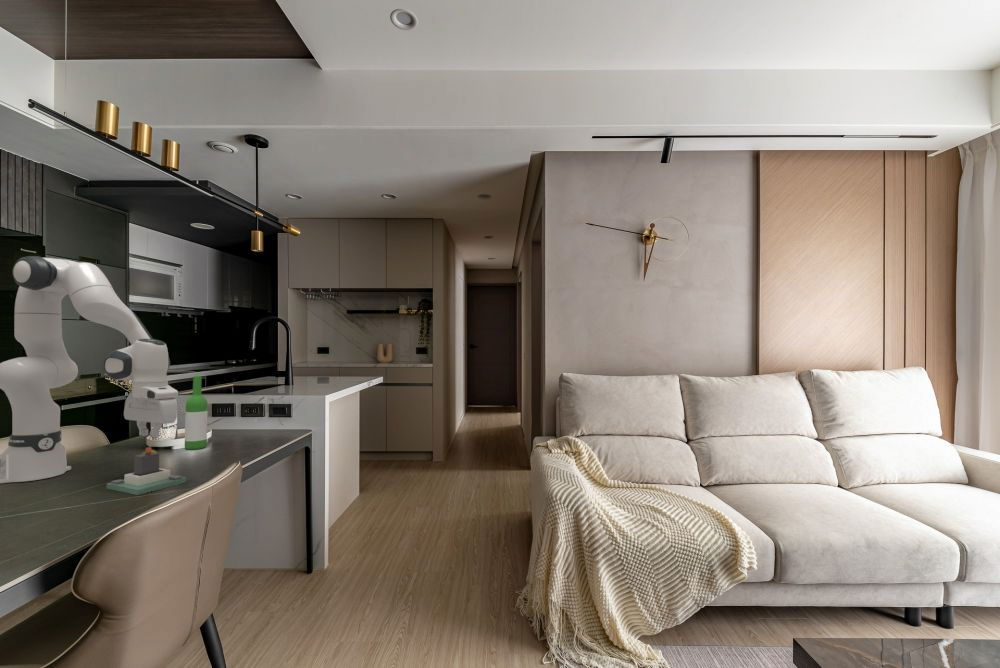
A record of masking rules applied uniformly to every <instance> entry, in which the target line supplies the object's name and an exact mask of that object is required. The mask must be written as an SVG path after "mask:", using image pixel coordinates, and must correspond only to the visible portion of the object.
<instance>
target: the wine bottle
mask: <svg viewBox="0 0 1000 668" xmlns="http://www.w3.org/2000/svg"><path fill="white" fill-rule="evenodd" d="M202 377H203V376H202V375H194V376H193V377H192V378H193V380H192V395H191V396H190V397H189V398H188V399H187V400H186V402H185V412H184V413H185V415H184V417H185V420H184V449H186V450H188V451H190V450H192V451H193V450H200V449H202V450H203V449H204V448H206V447H207V444H208V443H207V441H208V400H207V398H206V397H205V396H203V395H202V382H203V381H202Z"/></svg>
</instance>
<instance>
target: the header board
mask: <svg viewBox="0 0 1000 668" xmlns="http://www.w3.org/2000/svg"><path fill="white" fill-rule="evenodd" d="M123 475H124V479H122V478H121V479H119V478H118V479H115V480H112V481H110V482H108V483H106V489H108V490H113V491H115V492H116V491H117V492H121V493H126V494H131V495H134V496H135V495H136V496H141V495H144V494H148V493H151V491H152V492H154V491H158V490H162V489H165V488H171V487H173V486H177V485H181V484H185V483H187V477H186V476H183V475H178V474H177V475H175V474H171V469H166V468H162V467H161V468H160V467H159V472H156V473H152V474H148V475H143V476H137V475H134V472H131V473H125V474H123ZM147 492H148V493H147Z"/></svg>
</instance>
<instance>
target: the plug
mask: <svg viewBox="0 0 1000 668" xmlns="http://www.w3.org/2000/svg"><path fill="white" fill-rule="evenodd" d="M151 449H152V447H149V446H148V447H145V451H146V453H145V454H142V453H141V454H136V455H134V459H133V473H134V475H137V476H143V475H148V474H152V473H156V472H159V468H160V453H158V452H157V453H153V452H151Z"/></svg>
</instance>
